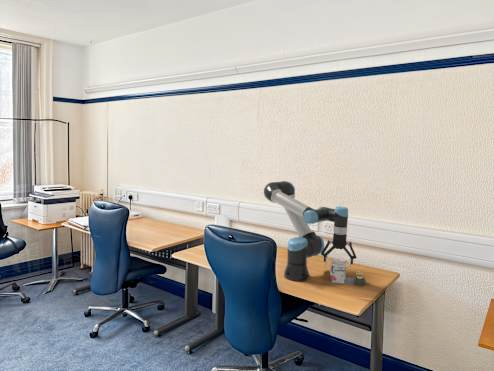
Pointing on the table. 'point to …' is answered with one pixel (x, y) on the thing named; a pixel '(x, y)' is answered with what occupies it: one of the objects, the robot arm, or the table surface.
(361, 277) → the button
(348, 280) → the board
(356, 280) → the button housing
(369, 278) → the table surface
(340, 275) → the ink box
